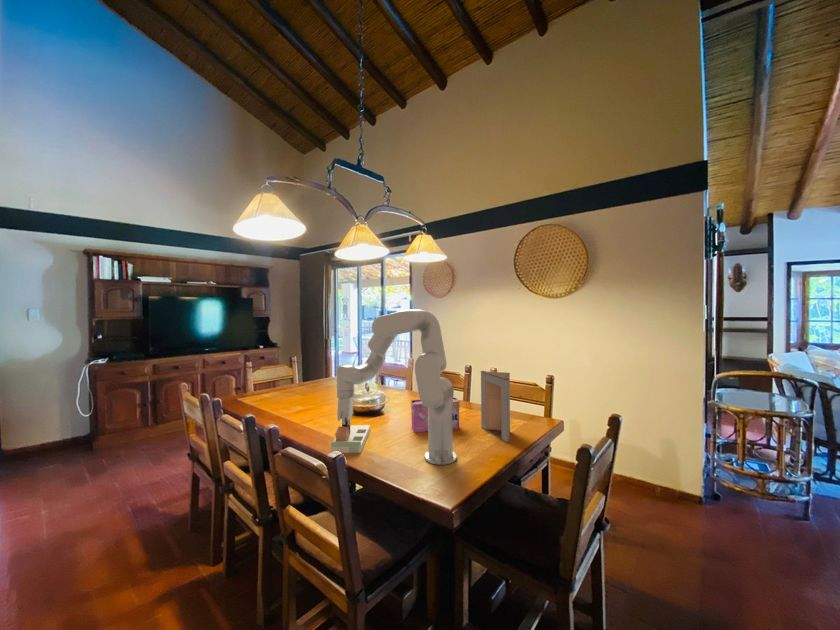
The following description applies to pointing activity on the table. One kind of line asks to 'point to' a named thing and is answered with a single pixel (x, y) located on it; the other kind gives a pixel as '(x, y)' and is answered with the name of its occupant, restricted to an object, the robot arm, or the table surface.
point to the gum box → (422, 415)
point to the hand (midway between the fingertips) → (346, 434)
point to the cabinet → (496, 404)
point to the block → (342, 434)
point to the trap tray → (352, 440)
